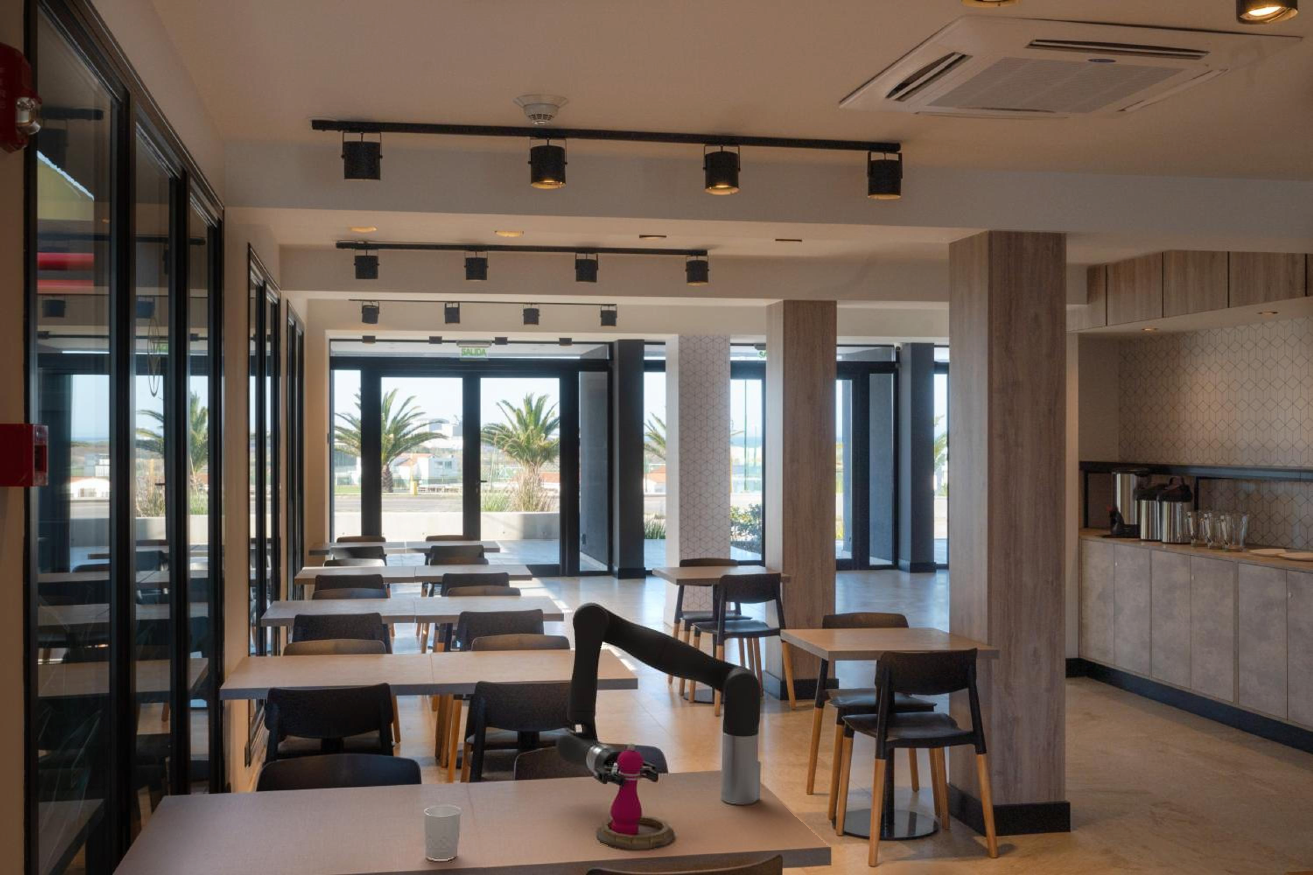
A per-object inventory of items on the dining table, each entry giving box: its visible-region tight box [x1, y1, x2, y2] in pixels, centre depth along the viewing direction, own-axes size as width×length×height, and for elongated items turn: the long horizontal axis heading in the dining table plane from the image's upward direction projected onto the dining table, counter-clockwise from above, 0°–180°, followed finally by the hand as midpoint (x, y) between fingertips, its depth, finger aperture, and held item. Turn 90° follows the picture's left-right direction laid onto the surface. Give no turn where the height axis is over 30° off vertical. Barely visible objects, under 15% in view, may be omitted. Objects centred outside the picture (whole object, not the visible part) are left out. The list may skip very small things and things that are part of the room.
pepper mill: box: [609, 743, 644, 835], centre depth 270 cm, size 7×7×20 cm
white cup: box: [423, 804, 462, 859], centre depth 255 cm, size 8×8×10 cm
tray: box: [595, 815, 675, 851], centre depth 270 cm, size 18×18×2 cm
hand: (640, 780), depth 269 cm, fingers open, 8 cm apart
